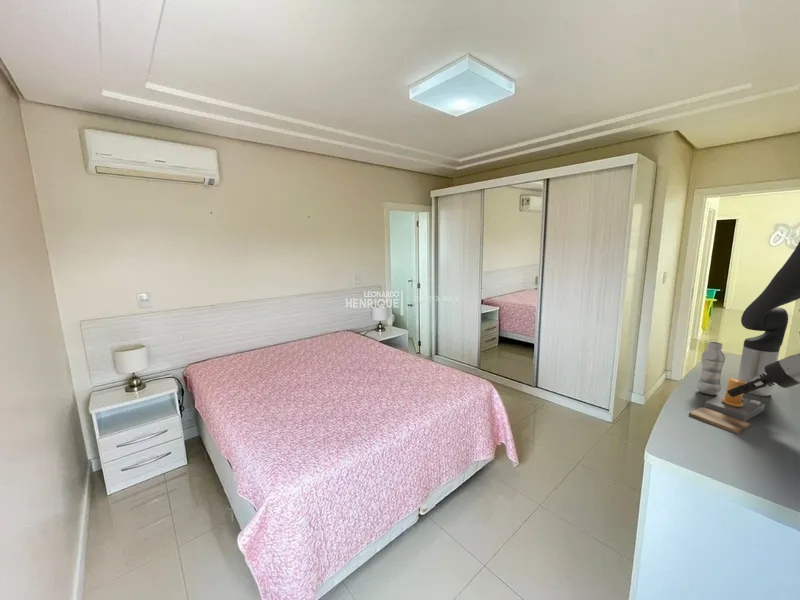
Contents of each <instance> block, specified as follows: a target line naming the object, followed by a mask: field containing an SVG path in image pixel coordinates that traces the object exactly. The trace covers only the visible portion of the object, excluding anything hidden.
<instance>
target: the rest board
mask: <svg viewBox="0 0 800 600" xmlns="http://www.w3.org/2000/svg"><path fill="white" fill-rule="evenodd" d="M688 416H689V417H692V418H694V419H697V420H700V421H703V422H706V423H708V424H711V425H713V426H716V427H719V428H721V429H724V430H726V431H730V432H732V433H735V434H739V433H742V432H743V431H744V430H746V429H748V428H749V427H751V422H749V421H748V422H747V421H742V420H739V419H737V418H734V417H731V416H728V415H725V414H722V413H719V412H716V411H713V410H710V409H707V408H704V406H700V407H698V408H697V409H694V410H691V411H690V412H689V413H688Z"/></svg>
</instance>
